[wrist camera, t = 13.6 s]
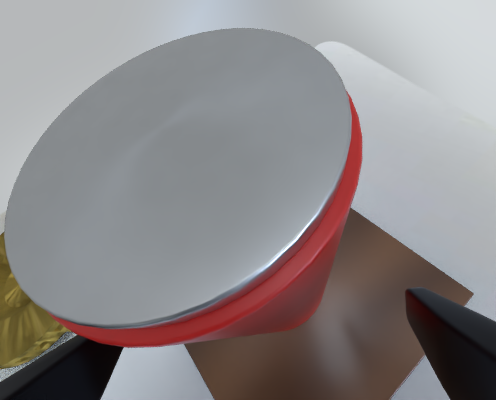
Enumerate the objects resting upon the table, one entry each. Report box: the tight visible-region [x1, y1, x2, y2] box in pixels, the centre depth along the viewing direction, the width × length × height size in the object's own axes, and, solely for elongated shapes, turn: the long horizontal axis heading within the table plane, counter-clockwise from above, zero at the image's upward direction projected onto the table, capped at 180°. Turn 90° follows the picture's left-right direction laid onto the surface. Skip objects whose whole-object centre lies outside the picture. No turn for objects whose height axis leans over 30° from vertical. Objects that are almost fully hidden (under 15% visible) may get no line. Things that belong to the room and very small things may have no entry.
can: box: [4, 28, 362, 348], centre depth 9 cm, size 6×6×13 cm
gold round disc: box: [0, 232, 72, 369], centre depth 19 cm, size 12×12×2 cm
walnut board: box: [184, 208, 473, 400], centre depth 15 cm, size 16×14×1 cm
